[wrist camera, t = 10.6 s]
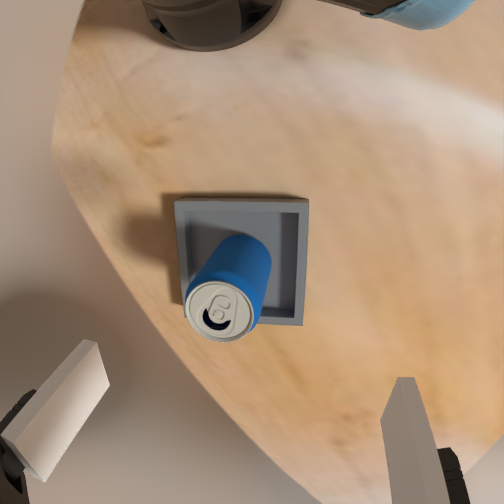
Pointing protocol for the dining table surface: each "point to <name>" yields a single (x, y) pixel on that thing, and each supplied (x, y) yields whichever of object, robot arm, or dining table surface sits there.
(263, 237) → the tray
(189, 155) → the dining table surface
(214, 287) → the beverage can
